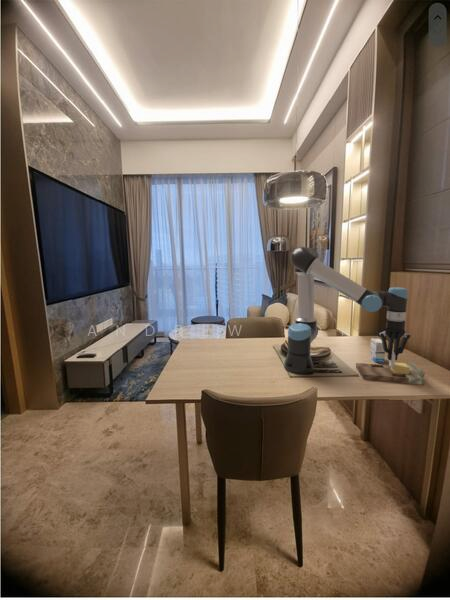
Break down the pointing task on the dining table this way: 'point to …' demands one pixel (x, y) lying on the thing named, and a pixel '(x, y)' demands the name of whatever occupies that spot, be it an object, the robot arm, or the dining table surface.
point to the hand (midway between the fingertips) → (391, 366)
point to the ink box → (377, 351)
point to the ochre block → (400, 368)
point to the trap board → (391, 373)
